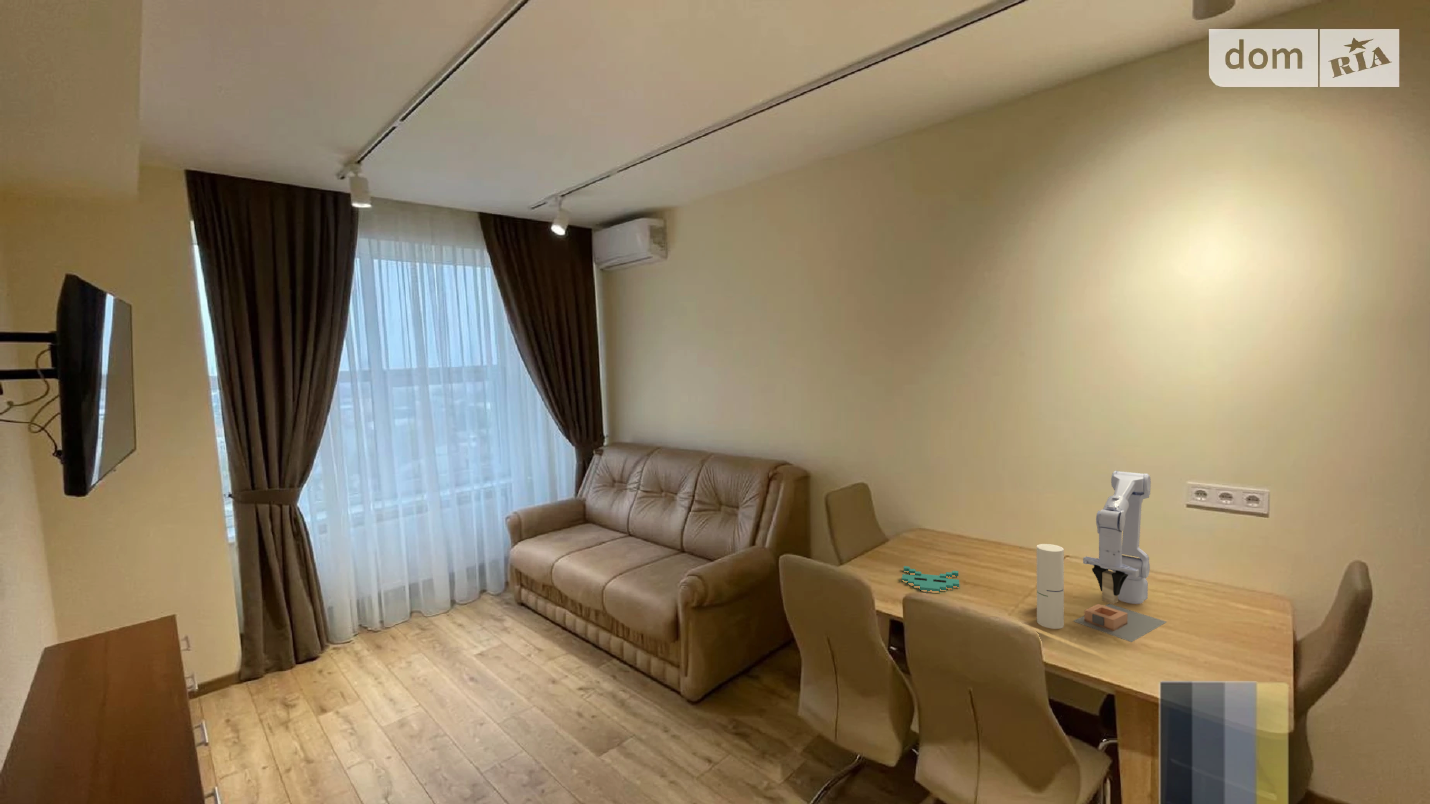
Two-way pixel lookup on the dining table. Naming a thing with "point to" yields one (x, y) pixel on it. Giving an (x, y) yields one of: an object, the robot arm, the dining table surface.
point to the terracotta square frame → (1105, 617)
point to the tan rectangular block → (1108, 588)
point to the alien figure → (930, 580)
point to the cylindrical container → (1050, 586)
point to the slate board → (1128, 625)
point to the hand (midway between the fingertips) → (1110, 592)
